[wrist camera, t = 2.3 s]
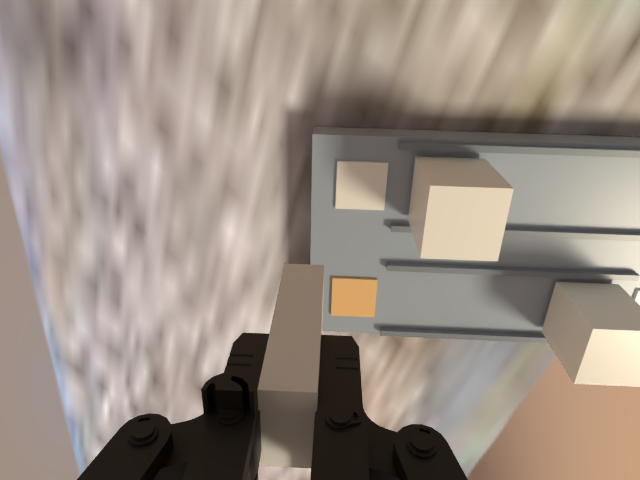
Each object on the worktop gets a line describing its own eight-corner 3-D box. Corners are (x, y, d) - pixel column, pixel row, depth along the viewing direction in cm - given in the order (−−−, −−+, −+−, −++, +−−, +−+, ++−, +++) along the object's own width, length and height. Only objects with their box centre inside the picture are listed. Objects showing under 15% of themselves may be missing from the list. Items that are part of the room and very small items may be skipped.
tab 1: (415, 156, 27) (430, 185, 23) (485, 158, 27) (513, 188, 23) (408, 219, 29) (420, 258, 24) (473, 221, 29) (497, 261, 24)
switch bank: (314, 126, 29) (311, 136, 27) (745, 140, 28) (780, 152, 26) (310, 313, 35) (308, 334, 33) (663, 329, 34) (686, 351, 32)
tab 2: (556, 281, 30) (592, 328, 26) (618, 284, 30) (666, 332, 26) (541, 331, 32) (573, 383, 28) (600, 334, 32) (642, 386, 28)
